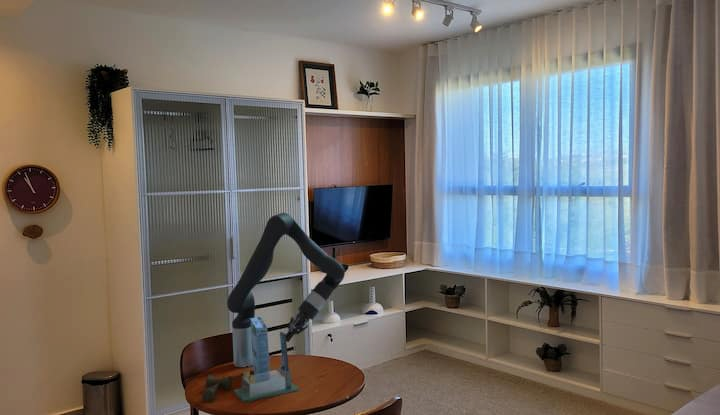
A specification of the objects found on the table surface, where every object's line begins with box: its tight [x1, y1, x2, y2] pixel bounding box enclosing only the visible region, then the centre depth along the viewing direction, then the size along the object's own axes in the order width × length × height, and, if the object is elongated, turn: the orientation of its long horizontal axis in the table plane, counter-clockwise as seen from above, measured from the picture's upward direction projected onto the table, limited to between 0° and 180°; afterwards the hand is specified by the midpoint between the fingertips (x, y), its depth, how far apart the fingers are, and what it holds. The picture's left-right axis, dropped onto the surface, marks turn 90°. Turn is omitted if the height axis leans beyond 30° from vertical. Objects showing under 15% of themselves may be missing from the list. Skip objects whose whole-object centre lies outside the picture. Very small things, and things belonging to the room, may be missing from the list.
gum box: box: [250, 316, 271, 374], centre depth 236 cm, size 20×5×23 cm, turn 17°
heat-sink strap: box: [279, 331, 290, 373], centre depth 222 cm, size 4×16×1 cm
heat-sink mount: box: [233, 365, 300, 404], centre depth 219 cm, size 13×22×8 cm, turn 119°
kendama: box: [200, 374, 233, 403], centre depth 219 cm, size 6×10×20 cm
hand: (285, 340), depth 222 cm, fingers closed
